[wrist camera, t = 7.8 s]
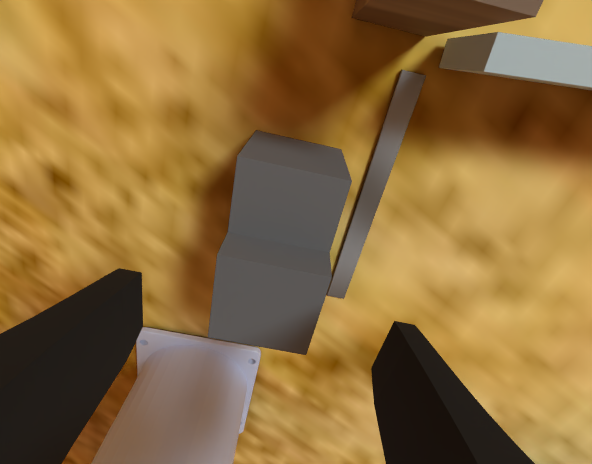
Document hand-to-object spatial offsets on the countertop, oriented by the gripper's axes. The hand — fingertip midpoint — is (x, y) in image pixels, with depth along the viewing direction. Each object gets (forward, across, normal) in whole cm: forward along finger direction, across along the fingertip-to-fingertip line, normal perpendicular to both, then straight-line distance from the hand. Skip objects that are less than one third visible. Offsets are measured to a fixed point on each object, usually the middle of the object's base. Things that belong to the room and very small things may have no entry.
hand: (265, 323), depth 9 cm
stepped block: (+8, 0, 0) cm, 8 cm away
